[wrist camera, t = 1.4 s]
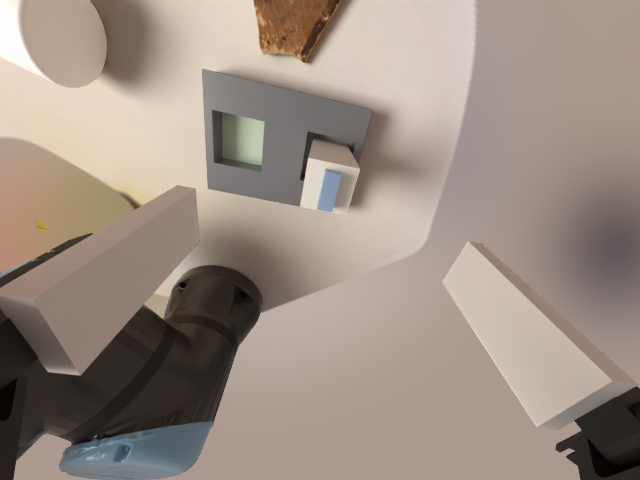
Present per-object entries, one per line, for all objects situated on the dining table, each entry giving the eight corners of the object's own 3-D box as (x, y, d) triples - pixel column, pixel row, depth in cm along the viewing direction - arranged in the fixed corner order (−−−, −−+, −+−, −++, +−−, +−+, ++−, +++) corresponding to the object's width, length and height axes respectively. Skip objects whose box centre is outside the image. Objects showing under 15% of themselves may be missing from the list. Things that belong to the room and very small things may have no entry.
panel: (341, 205, 32) (343, 214, 29) (217, 181, 30) (207, 188, 28) (368, 109, 26) (373, 110, 23) (214, 72, 24) (202, 68, 22)
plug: (338, 176, 30) (347, 221, 18) (307, 169, 29) (298, 211, 18) (346, 143, 28) (362, 172, 16) (313, 136, 27) (307, 160, 16)
